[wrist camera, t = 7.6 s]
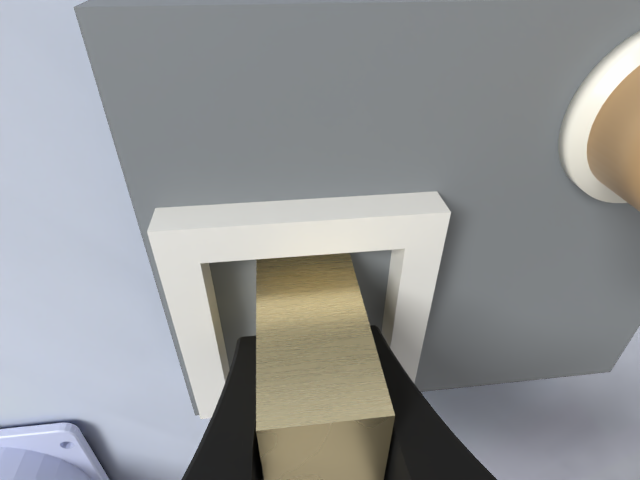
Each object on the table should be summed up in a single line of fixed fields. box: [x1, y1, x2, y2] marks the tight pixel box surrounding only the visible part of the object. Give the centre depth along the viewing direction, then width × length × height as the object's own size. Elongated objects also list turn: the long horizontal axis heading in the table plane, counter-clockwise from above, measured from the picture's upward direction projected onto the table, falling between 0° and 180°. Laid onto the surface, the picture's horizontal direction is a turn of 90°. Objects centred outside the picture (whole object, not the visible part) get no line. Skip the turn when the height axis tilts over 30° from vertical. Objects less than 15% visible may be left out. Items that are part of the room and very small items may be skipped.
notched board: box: [74, 0, 640, 419], centre depth 13 cm, size 13×16×2 cm
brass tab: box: [256, 253, 395, 480], centre depth 11 cm, size 4×2×5 cm, turn 0°
